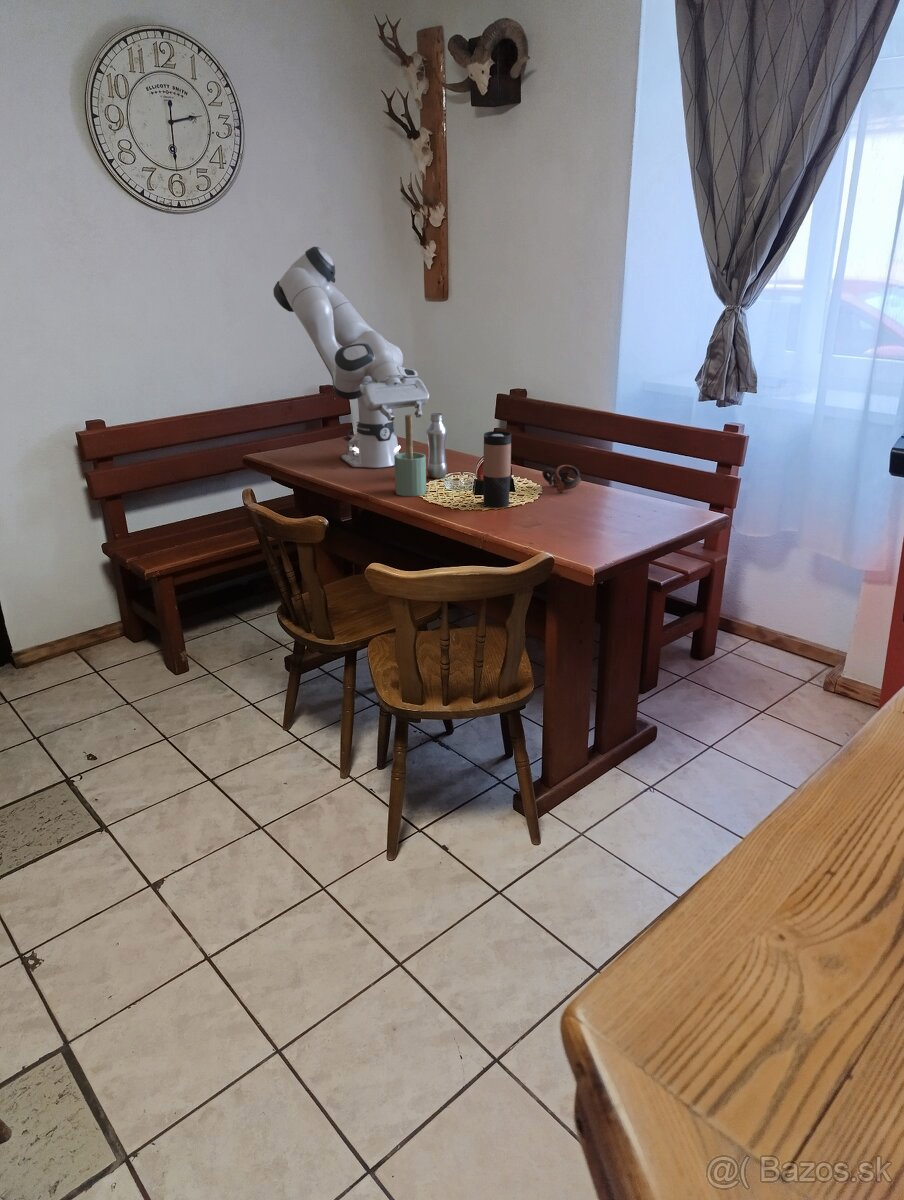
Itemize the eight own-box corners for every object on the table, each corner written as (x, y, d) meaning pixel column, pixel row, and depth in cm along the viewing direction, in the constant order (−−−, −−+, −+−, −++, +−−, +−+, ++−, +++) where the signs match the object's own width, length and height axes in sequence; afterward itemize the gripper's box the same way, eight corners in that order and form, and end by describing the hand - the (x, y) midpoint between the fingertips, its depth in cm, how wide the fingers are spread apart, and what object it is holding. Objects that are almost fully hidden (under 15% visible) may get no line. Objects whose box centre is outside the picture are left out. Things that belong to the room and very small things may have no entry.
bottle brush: (398, 489, 243) (396, 414, 234) (413, 486, 245) (411, 413, 237) (407, 492, 239) (405, 417, 230) (422, 490, 242) (420, 415, 233)
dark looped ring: (580, 486, 249) (586, 467, 242) (571, 507, 244) (577, 487, 237) (543, 474, 251) (548, 454, 244) (534, 494, 246) (538, 474, 239)
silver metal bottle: (448, 475, 261) (447, 412, 254) (446, 480, 255) (445, 416, 247) (428, 474, 262) (427, 412, 254) (425, 480, 256) (424, 416, 248)
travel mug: (512, 501, 232) (514, 432, 225) (505, 509, 226) (507, 437, 218) (487, 499, 235) (488, 430, 227) (479, 506, 228) (480, 435, 220)
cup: (389, 491, 244) (388, 454, 239) (415, 486, 248) (415, 450, 244) (405, 498, 237) (404, 460, 232) (432, 493, 241) (431, 456, 237)
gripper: (360, 375, 233) (377, 414, 229) (421, 370, 243) (438, 407, 240) (353, 389, 238) (371, 428, 235) (413, 383, 249) (431, 420, 245)
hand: (405, 417), depth 237 cm, fingers open, 8 cm apart
